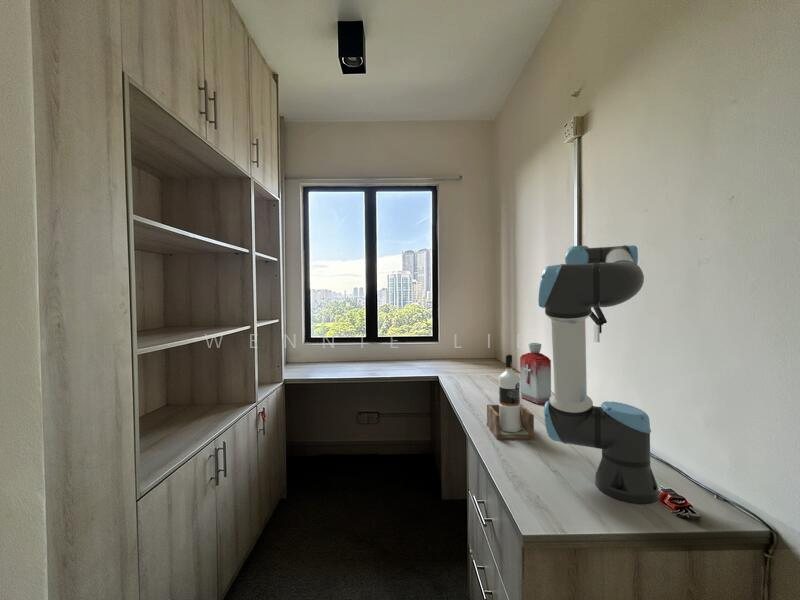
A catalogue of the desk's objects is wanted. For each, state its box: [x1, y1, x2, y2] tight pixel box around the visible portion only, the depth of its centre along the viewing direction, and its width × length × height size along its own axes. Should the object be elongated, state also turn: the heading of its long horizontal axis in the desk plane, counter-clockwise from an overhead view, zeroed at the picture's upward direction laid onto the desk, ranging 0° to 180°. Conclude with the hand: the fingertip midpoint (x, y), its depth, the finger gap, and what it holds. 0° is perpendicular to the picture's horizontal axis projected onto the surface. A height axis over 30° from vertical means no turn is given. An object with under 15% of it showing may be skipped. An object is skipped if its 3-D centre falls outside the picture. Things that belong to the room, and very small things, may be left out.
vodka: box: [497, 354, 522, 432], centre depth 148 cm, size 9×9×30 cm
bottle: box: [519, 342, 552, 405], centre depth 193 cm, size 14×10×30 cm
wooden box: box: [486, 403, 536, 441], centre depth 149 cm, size 16×14×9 cm
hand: (579, 342), depth 142 cm, fingers open, 13 cm apart
